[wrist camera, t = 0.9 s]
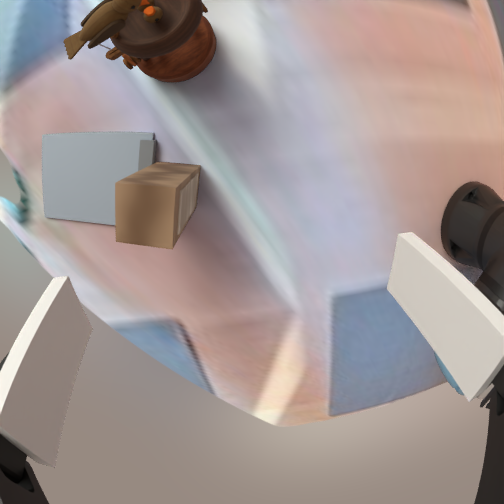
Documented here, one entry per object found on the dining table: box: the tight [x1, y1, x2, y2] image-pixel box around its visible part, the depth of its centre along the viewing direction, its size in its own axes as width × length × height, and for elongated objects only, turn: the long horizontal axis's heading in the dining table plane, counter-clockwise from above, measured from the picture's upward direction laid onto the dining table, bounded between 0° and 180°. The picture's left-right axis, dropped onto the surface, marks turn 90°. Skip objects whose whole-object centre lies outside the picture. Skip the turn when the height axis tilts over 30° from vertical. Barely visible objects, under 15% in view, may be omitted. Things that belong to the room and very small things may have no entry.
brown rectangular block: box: [115, 162, 201, 249], centre depth 32 cm, size 6×6×14 cm
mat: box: [42, 132, 157, 225], centre depth 36 cm, size 20×14×1 cm
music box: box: [64, 0, 216, 82], centre depth 21 cm, size 15×11×20 cm
